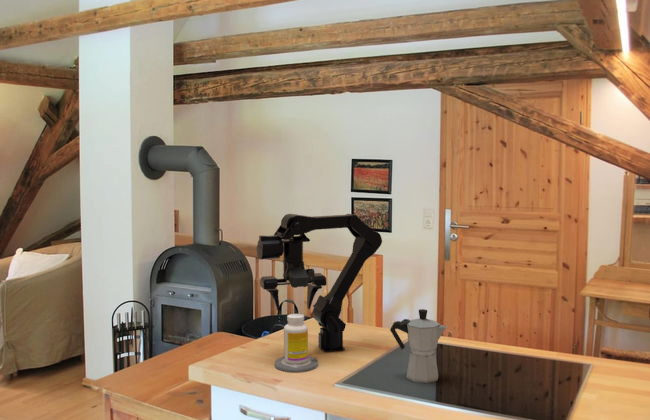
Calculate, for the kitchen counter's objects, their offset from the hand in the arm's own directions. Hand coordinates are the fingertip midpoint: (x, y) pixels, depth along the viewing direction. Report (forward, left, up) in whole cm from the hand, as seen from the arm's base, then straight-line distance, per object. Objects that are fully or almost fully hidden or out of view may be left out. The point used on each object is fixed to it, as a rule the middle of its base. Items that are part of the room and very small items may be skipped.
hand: (293, 310), depth 181 cm
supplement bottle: (+2, +10, -12) cm, 16 cm away
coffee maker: (-26, +29, -13) cm, 41 cm away
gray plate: (+2, +10, -13) cm, 17 cm away
